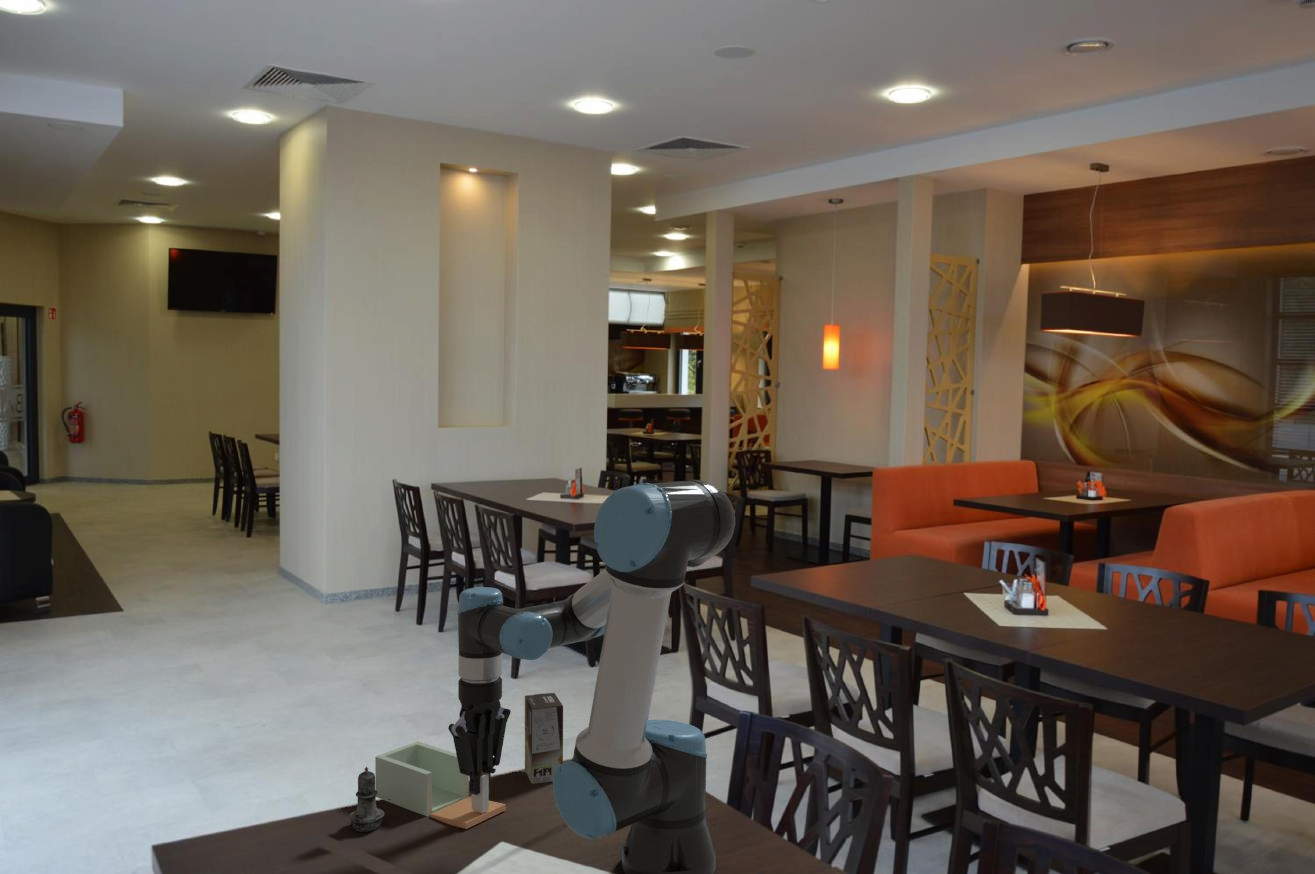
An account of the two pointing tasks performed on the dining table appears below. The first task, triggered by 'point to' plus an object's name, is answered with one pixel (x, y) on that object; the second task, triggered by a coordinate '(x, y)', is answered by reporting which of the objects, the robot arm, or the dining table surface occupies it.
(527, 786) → the dining table surface
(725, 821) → the dining table surface
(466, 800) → the flat tan square board
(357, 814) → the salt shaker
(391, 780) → the crate
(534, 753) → the coffee box
